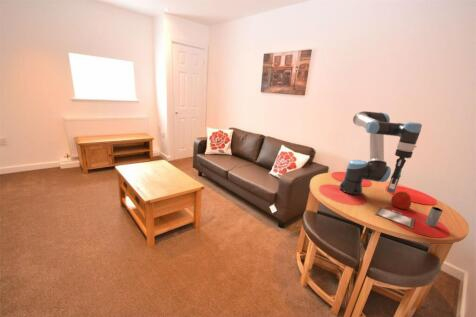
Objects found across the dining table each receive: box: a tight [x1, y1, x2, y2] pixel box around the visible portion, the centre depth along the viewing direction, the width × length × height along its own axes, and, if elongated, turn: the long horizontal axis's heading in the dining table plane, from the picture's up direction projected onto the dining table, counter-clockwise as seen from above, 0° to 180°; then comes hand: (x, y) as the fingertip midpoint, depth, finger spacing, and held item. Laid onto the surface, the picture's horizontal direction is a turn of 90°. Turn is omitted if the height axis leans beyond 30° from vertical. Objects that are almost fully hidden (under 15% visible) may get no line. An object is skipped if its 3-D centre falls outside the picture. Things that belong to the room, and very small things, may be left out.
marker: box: [386, 170, 403, 194], centre depth 123 cm, size 4×4×14 cm
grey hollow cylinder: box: [425, 206, 443, 228], centre depth 117 cm, size 4×4×10 cm
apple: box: [390, 191, 412, 210], centre depth 135 cm, size 10×10×10 cm
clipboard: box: [374, 206, 416, 230], centre depth 124 cm, size 18×13×1 cm
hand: (392, 187), depth 124 cm, fingers closed on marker, 4 cm apart
